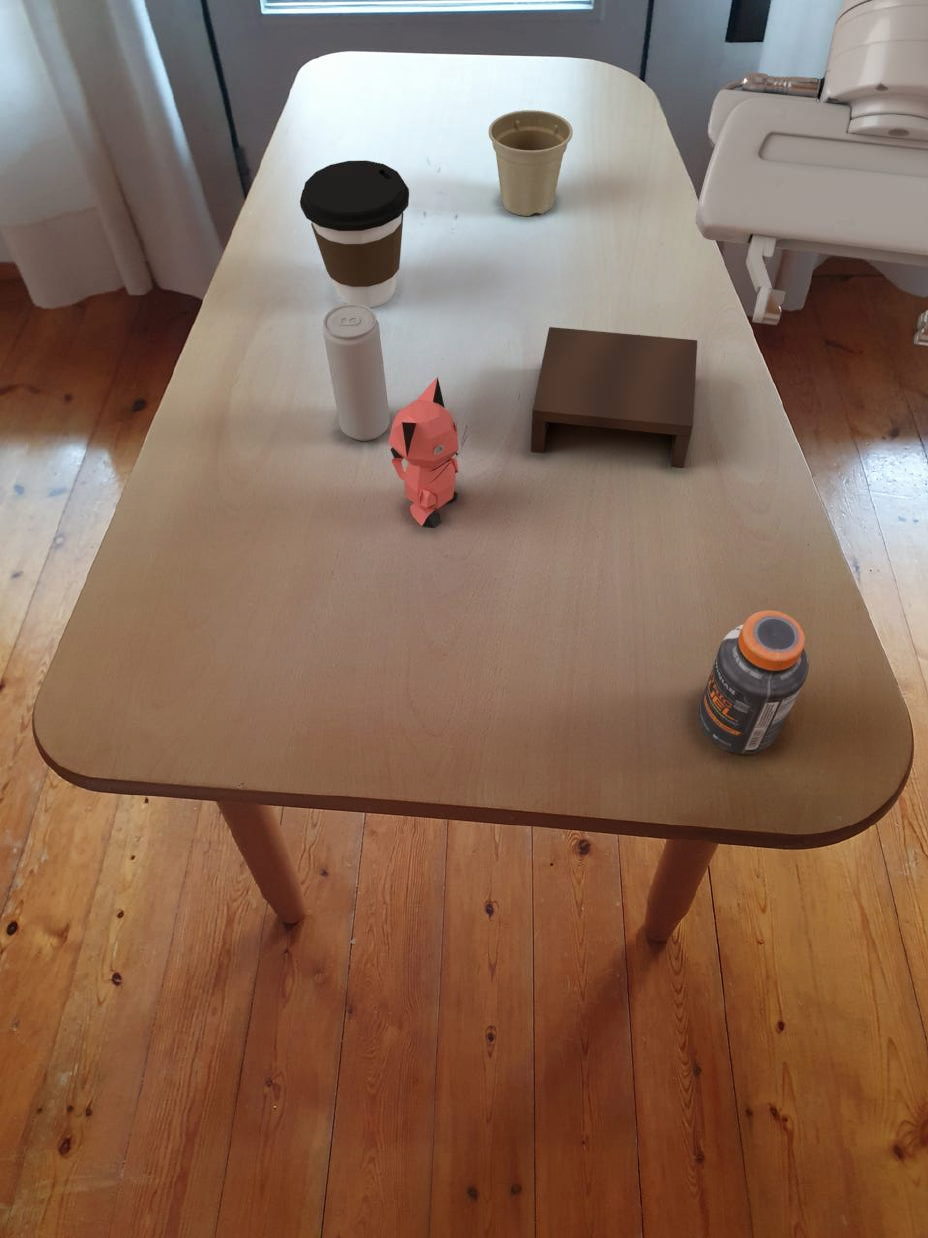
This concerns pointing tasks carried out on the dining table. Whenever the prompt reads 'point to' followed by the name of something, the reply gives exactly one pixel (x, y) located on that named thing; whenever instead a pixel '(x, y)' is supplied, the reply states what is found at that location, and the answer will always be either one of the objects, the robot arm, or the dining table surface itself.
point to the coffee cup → (358, 227)
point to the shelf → (617, 385)
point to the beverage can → (357, 371)
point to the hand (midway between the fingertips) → (845, 333)
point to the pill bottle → (754, 683)
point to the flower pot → (529, 158)
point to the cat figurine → (426, 454)
